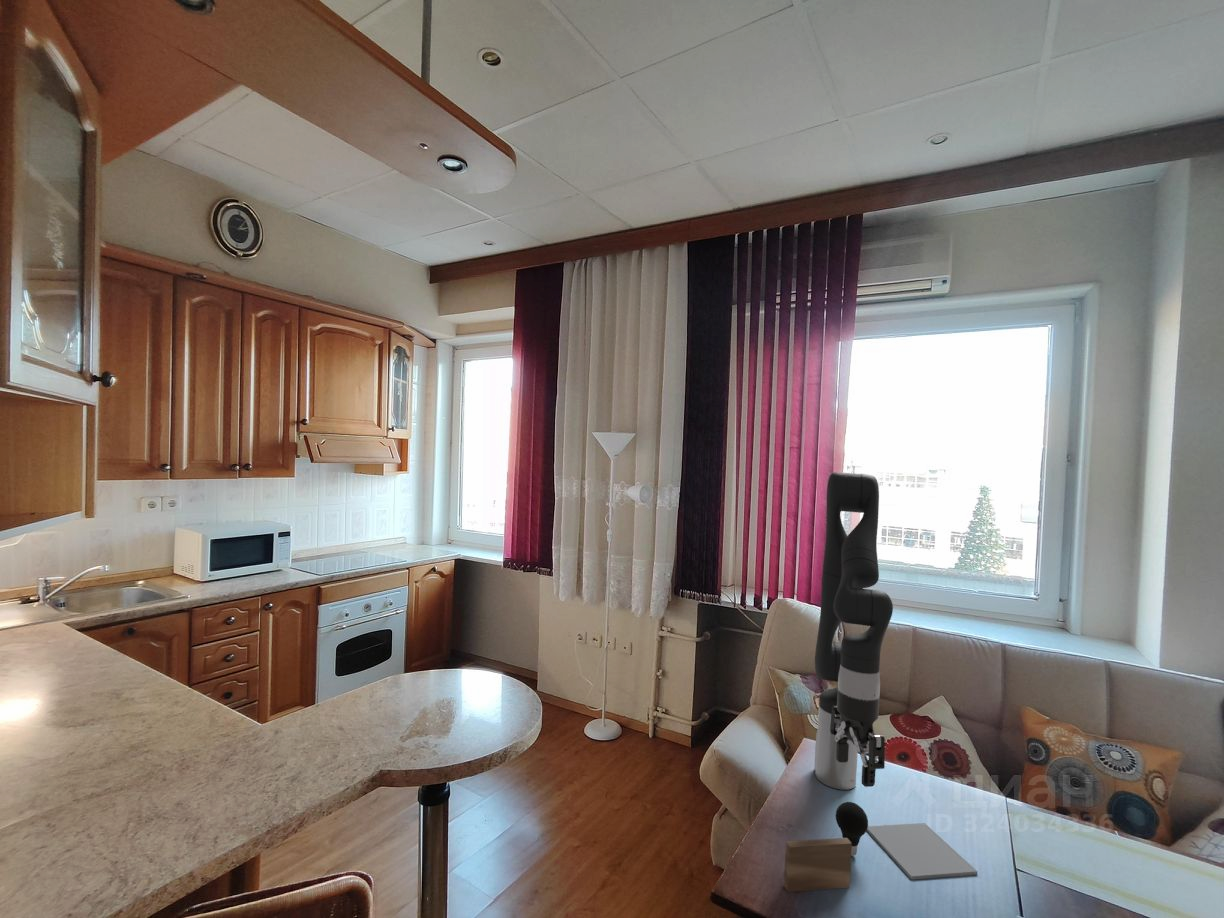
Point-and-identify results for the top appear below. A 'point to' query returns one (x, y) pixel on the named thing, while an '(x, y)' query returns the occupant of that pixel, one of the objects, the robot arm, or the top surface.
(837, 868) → the wooden toy block
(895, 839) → the rubber mat
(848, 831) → the light bulb
